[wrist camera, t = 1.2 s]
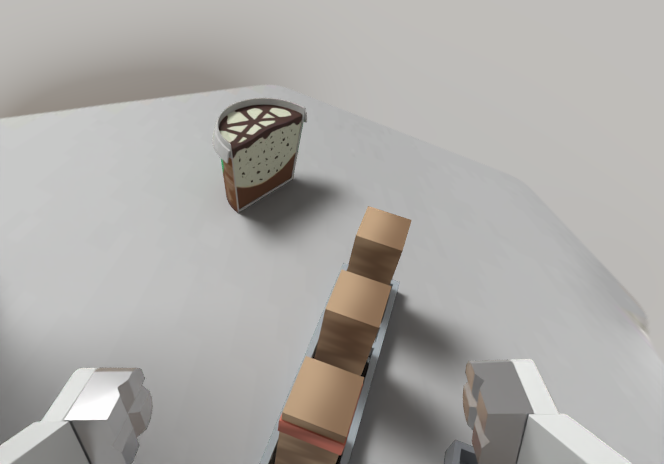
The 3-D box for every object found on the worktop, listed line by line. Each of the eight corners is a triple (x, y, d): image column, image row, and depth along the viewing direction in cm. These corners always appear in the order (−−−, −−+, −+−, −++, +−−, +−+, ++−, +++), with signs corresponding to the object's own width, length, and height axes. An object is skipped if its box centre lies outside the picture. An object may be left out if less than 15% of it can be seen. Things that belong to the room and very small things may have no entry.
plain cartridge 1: (336, 311, 46) (356, 235, 39) (347, 282, 49) (368, 206, 41) (374, 325, 46) (402, 250, 38) (384, 295, 49) (411, 220, 41)
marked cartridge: (271, 474, 35) (279, 413, 27) (291, 422, 38) (304, 353, 30) (323, 496, 35) (347, 439, 27) (340, 441, 38) (366, 376, 30)
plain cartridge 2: (309, 381, 41) (325, 308, 33) (323, 344, 44) (341, 269, 36) (352, 398, 40) (379, 328, 33) (364, 359, 43) (391, 286, 35)
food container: (267, 152, 63) (270, 84, 56) (300, 174, 61) (308, 106, 54) (193, 192, 56) (186, 119, 49) (228, 218, 53) (226, 146, 46)
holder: (253, 483, 35) (253, 476, 34) (341, 271, 50) (343, 262, 49) (332, 515, 34) (335, 510, 33) (396, 290, 49) (399, 282, 48)
